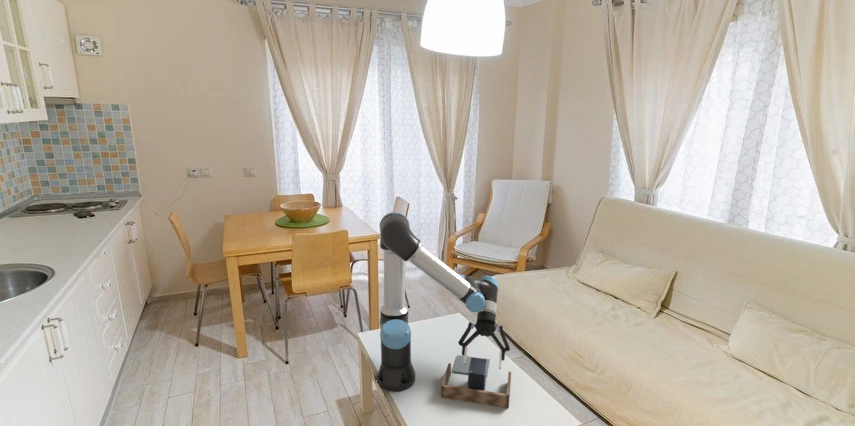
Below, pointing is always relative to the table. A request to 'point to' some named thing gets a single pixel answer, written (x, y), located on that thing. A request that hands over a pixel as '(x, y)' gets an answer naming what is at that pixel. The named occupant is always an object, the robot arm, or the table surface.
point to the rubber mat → (464, 369)
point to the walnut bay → (474, 393)
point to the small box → (477, 374)
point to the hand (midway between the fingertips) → (482, 366)
